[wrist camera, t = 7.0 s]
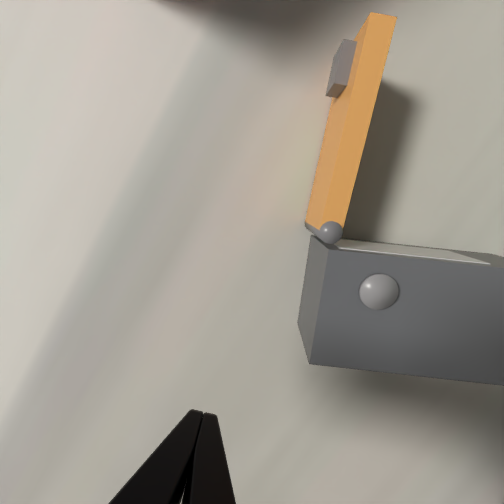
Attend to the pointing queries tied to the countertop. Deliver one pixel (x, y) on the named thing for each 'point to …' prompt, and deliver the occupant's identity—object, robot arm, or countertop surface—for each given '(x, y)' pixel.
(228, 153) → the countertop surface
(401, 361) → the housing
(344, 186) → the door
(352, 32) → the countertop surface
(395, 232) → the countertop surface
